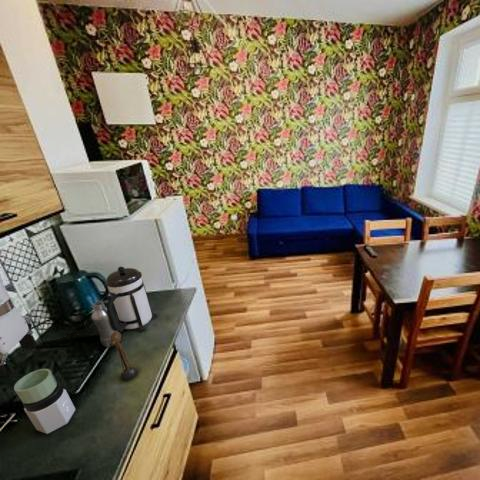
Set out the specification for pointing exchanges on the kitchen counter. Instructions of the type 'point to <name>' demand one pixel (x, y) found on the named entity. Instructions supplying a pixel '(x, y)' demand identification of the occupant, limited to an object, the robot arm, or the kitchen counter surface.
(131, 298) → the coffee press
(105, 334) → the plastic bottle
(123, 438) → the kitchen counter surface
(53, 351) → the kitchen counter surface
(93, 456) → the kitchen counter surface
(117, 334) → the wooden tabletop sculpture
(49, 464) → the kitchen counter surface
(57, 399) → the jar
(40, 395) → the green cup
